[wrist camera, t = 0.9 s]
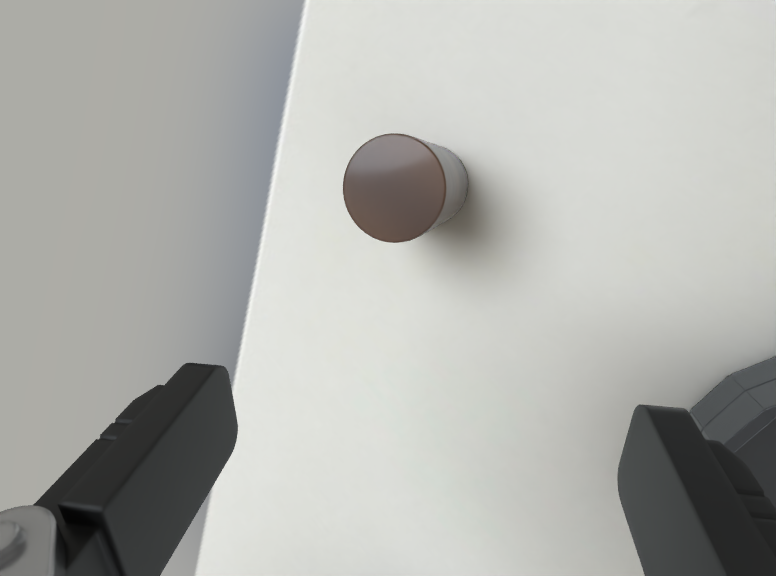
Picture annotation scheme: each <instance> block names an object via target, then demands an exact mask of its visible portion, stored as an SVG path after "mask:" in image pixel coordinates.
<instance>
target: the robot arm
mask: <svg viewBox="0 0 776 576" xmlns="http://www.w3.org/2000/svg"><path fill="white" fill-rule="evenodd" d="M237 433H238V424H237V417H236V412H235V406H234V401H233V395H232V390H231V384H230V379H229V374H228V371H227V369H226V368H225V367H224V366H219V365H208V364H197V363H186V364H184V365H183V366H182V367H181V368H180V369H179V370H178V371H177V372H176V373H175V374H174V375H173V377H172V378H171V379H170V380H169V381H168V382H167V383H166V384H165V385H157V386H156V387H154V388H153V389H151V390H149V391H148V392H146V393H144V394H143V395H141V396H140V397H138V398H136V399H135V400H133V401H132V403H130V405H129V406H128V407H127V408H126V409H125V410H124V411H123V412H122V413H121V414H120V415H119V416H118V417H117V418H116V421H115V423H112V424H110V425H109V427H108V428H107V429H106V430H105V431H104V432H103V433H102V434H101V435H100V439H99V440H97V439H96V440H95V441H94V442H93V443H92V444H91V445H90V446H89V447H88V448H87V450H86V451H85V452H84V453H83V454H82V455H81V456H80V457H79V458H78V459H77V460H76V461H75V462H74V463H73V464H72V465H71V466H70V468H68V469H67V470H66V471H65V473H64V474H63V475H62V476H61V477H60V478H59V479H58V480H57V481H56V482H55V483H54V484H53V485H52V486H51V487H50V488H49V489H48V490H47V491H46V492H45V494H44V495H43V496H42V497H41V498H40V499H39V500H38V501H37V502H36V503H35V504H34V505H30V506H20V507H14V508H11V509H7V510H4V511H2V512H0V576H160V575H161V573H162V571H163V569H164V568H165V566H166V564H167V563H168V561H169V559H170V558H171V556H172V554H173V552H174V551H175V549H176V547H177V546H178V544H179V542H180V541H181V539H182V537H183V535H184V534H185V532H186V530H187V529H188V527H189V525H190V524H191V522H192V520H193V519H194V517H195V515H196V513H197V512H198V510H199V508H200V507H201V505H202V503H203V502H204V500H205V498H206V496H207V495H208V493H209V491H210V490H211V488H212V486H213V485H214V483H215V481H216V480H217V478H218V476H219V474H220V473H221V471H222V469H223V468H224V466H225V464H226V463H227V461H228V459H229V457H230V456H231V454H232V452H233V449H234V447H235V443H236V439H237ZM618 491H619V496H620V501H621V504H622V507H623V510H624V513H625V516H626V519H627V522H628V525H629V528H630V531H631V534H632V537H633V540H634V544H635V547H636V550H637V553H638V556H639V559H640V562H641V565H642V568H643V571H644V574H645V576H776V509H775V507H774V506H773V504H772V503H771V501H770V499H769V498H768V497H765V496H764V490H763V489H762V487H761V486H760V484H759V483H758V481H757V480H756V478H755V477H754V475H753V474H752V472H751V471H750V469H749V468H748V466H747V465H746V464H745V463H744V462H743V461H742V460H741V459H739V458H738V457H737V456H736V455H735V454H734V453H732V452H731V451H730V450H729V449H728V448H727V447H725V446H724V445H723V444H722V443H721V442H720V441H715V440H705V438H704V437H703V435H702V433H701V431H700V430H699V428H698V426H697V425H696V423H695V421H694V420H693V418H692V416H691V415H690V413H689V412H688V411H687V410H686V409H683V408H673V407H662V406H651V405H638V406H637V407H636V408H635V410H634V413H633V416H632V420H631V423H630V427H629V430H628V434H627V438H626V441H625V445H624V449H623V452H622V456H621V459H620V463H619V468H618Z"/></svg>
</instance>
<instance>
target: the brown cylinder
mask: <svg viewBox="0 0 776 576" xmlns="http://www.w3.org/2000/svg"><path fill="white" fill-rule="evenodd" d="M467 191H468V178H467V173H466V170H465V168H464V166H463V164H462V162H461V161H460V159H459V158H458V157H457V156H456V155H455V154H454V153H452V152H451V151H449V150H448V149H446V148H444V147H441V146H438V145H435V144H432V143H429V142H426V141H424V140H421V139H418V138H415V137H412V136H409V135H405V134H384V135H381V136H377V137H375V138H373V139H371V140H369V141H368V142H366V143H365V144H364V145H362V146H361V147H360V148H359V149H358V150H357V151H356V152H355V154H354V155H353V157H352V158H351V160H350V162H349V164H348V166H347V168H346V171H345V175H344V181H343V195H344V200H345V204H346V207H347V210H348V212H349V214H350V216H351V218H352V219H353V221H354V222H355V223H356V225H357V226H358V227H359V228H360V229H361V230H363V231H364V232H365V233H366V234H368V235H369V236H371V237H373V238H375V239H378V240H381V241H385V242H392V243H398V242H405V241H410V240H412V239H415V238H417V237H419V236H421V235H423V234H424V233H426V232H428V231H429V230H431V229H433V228H435V227H436V226H438V225H440V224H442V223H443V222H445V221H447V220H448V219H450V218H451V217H453V216H454V215H455V214H456V213H457V212H458V211H459V210H460V208H461V207H462V205H463V203H464V201H465V199H466V195H467Z"/></svg>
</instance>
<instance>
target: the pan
mask: <svg viewBox="0 0 776 576" xmlns="http://www.w3.org/2000/svg"><path fill="white" fill-rule="evenodd" d="M689 413H690V415H691V416H692V418H693V420H694V421H695V423H696V425H697V426H698V428H699V430H700V431H701V433H702V435H703V437H704V438H705V440H715V441H720V442H721V443H722V444H723V445H724V446H725V447H727V448H728V449H729V450H730V451H731V452H732V453H734V454H735V455H736V456H737V457H738V458H739V459H741V460H742V461H743V462H744V463H745V464H746V465H747V466H748V468H749V469H750V471H751V472H752V474H753V475H754V477H755V478H756V480H757V481H758V483H759V484H760V486H761V487H762V489H763V490H764V496H765V497H768V498H769V499H770V501H771V503H772V504H773V506H774V507H775V509H776V357H773V358H771V359H768V360H766V361H763V362H761V363H758V364H756V365H753V366H751V367H748V368H746V369H743V370H741V371H738V372H736V373H733V374H731V375H730V376H727V377H726V378H725V379H724V380H723V381H722V382H721V383H720V384H719V385H717V386H716V387H715V388H714V389H713V390H712V391H711V392H710V393H709V394H708V395H706V396H705V397H704V398H703V399H702V400H701V401H700V402H699V403H698V404H697V405H695V406H694V407H693V408H692V409H691V410H690V412H689Z"/></svg>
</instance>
